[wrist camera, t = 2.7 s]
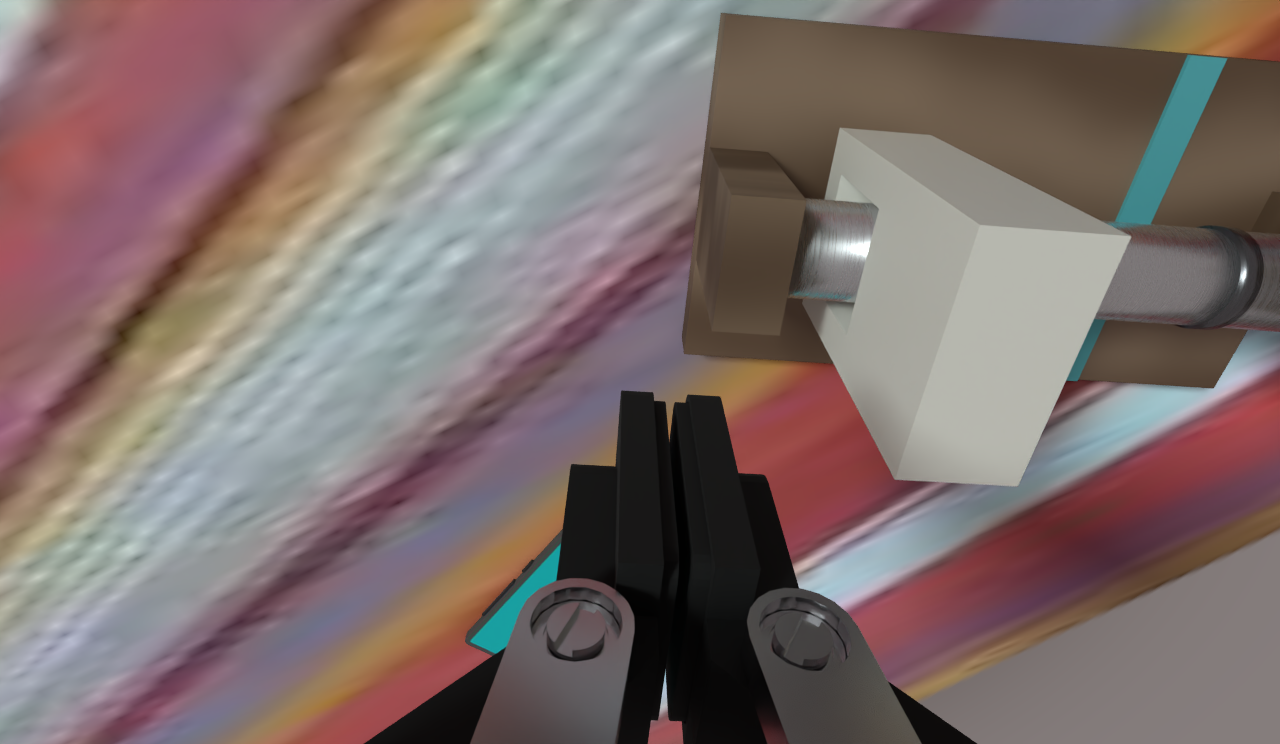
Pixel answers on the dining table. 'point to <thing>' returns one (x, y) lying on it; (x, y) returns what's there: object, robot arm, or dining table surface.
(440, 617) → the dining table surface
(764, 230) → the pipe rig
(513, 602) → the smartphone
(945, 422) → the collar
